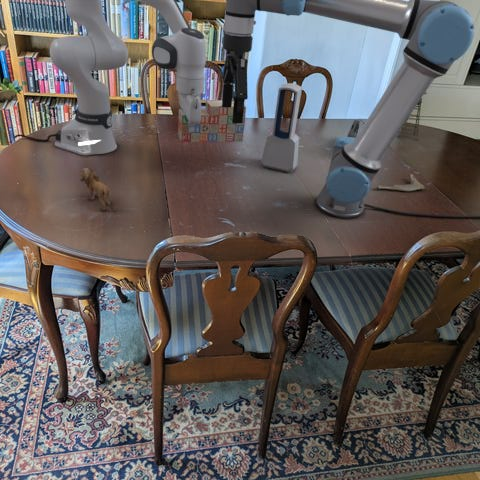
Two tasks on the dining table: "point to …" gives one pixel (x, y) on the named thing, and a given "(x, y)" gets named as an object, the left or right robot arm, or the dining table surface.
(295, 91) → the electronic device
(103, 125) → the left robot arm
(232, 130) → the stack of blocks
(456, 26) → the right robot arm
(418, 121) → the miniature windmill
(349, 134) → the handheld gaming console
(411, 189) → the jawbone
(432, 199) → the dining table surface
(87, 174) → the lion figurine
